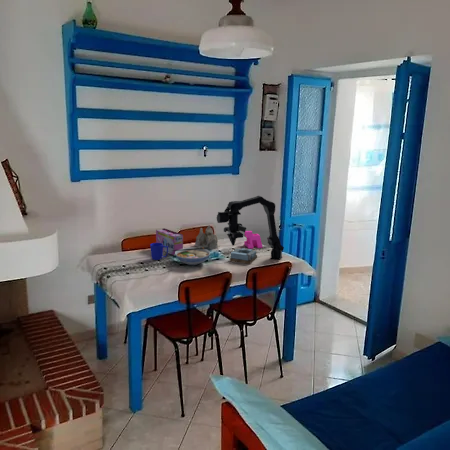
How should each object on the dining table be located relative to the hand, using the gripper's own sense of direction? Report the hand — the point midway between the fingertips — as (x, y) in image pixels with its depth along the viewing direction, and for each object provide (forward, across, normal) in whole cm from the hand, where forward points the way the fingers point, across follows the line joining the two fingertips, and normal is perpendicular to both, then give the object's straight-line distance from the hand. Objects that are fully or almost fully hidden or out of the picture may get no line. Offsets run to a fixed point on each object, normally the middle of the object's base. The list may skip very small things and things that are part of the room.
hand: (233, 245), depth 289 cm
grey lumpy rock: (+12, +43, +3) cm, 45 cm away
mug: (+12, +24, +43) cm, 50 cm away
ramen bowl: (+12, +8, +25) cm, 29 cm away
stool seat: (+12, +4, -9) cm, 16 cm away
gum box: (+12, +40, +32) cm, 53 cm away
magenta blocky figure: (+13, +31, -29) cm, 44 cm away
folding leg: (+10, 0, -6) cm, 12 cm away
